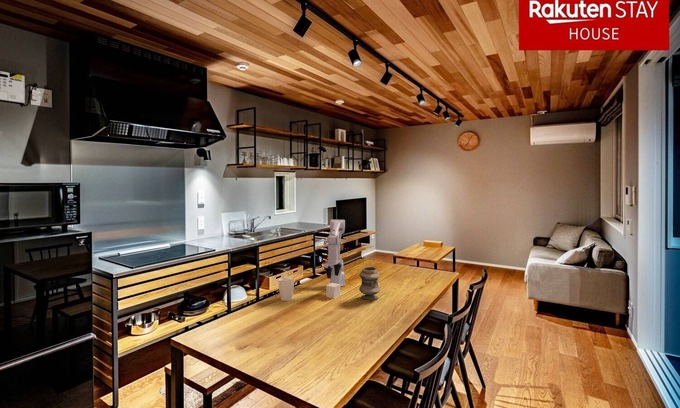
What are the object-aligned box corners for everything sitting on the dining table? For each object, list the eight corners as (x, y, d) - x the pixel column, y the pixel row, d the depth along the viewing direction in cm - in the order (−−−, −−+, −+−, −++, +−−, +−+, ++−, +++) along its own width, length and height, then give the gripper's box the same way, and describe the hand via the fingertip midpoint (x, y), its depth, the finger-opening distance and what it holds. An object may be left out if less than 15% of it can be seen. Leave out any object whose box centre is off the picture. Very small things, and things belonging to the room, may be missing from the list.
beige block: (332, 293, 212) (332, 282, 212) (340, 295, 209) (340, 284, 208) (326, 296, 208) (326, 285, 207) (334, 298, 204) (334, 287, 203)
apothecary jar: (355, 299, 203) (356, 269, 201) (364, 293, 213) (364, 264, 212) (375, 303, 197) (375, 272, 196) (382, 296, 208) (383, 267, 206)
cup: (291, 302, 198) (291, 281, 197) (276, 301, 200) (276, 280, 199) (296, 297, 207) (296, 277, 206) (281, 295, 208) (281, 276, 207)
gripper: (334, 252, 221) (334, 273, 222) (320, 256, 209) (320, 278, 210) (343, 253, 217) (343, 275, 218) (329, 258, 205) (329, 280, 206)
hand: (332, 277), depth 214 cm, fingers open, 7 cm apart
